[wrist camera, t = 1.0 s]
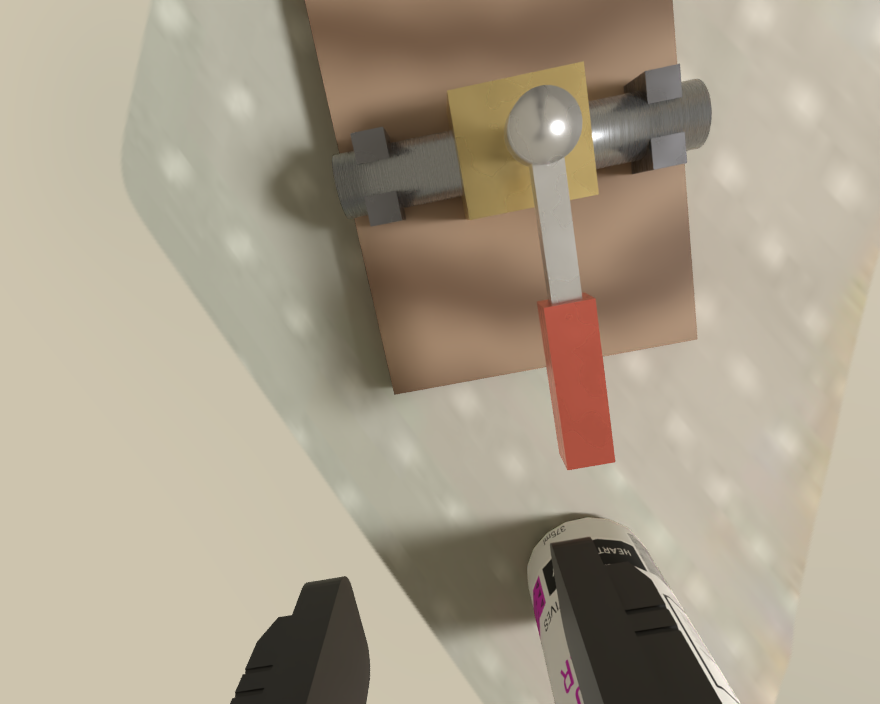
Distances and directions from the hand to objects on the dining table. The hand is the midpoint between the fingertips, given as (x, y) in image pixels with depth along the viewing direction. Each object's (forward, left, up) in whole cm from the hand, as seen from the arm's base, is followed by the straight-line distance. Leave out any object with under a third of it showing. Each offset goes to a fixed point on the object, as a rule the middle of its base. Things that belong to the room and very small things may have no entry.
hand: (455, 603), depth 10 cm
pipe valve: (-9, +5, -23) cm, 25 cm away
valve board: (-9, +5, -23) cm, 25 cm away
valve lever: (-3, +5, -14) cm, 15 cm away
